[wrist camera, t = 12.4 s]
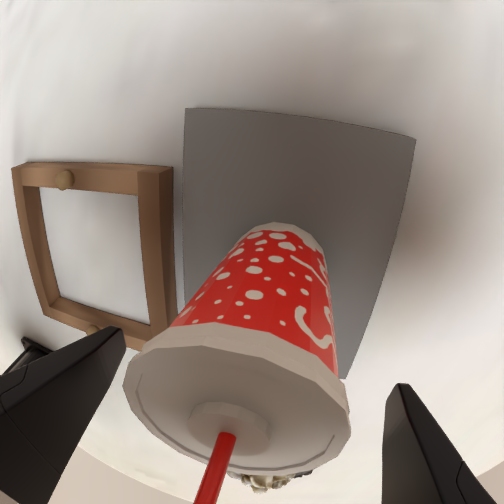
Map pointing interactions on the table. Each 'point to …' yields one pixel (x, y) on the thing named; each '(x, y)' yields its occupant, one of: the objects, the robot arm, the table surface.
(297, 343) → the beverage cup
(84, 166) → the socket collar
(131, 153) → the table surface
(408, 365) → the table surface
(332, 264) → the rubber mat
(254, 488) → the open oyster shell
